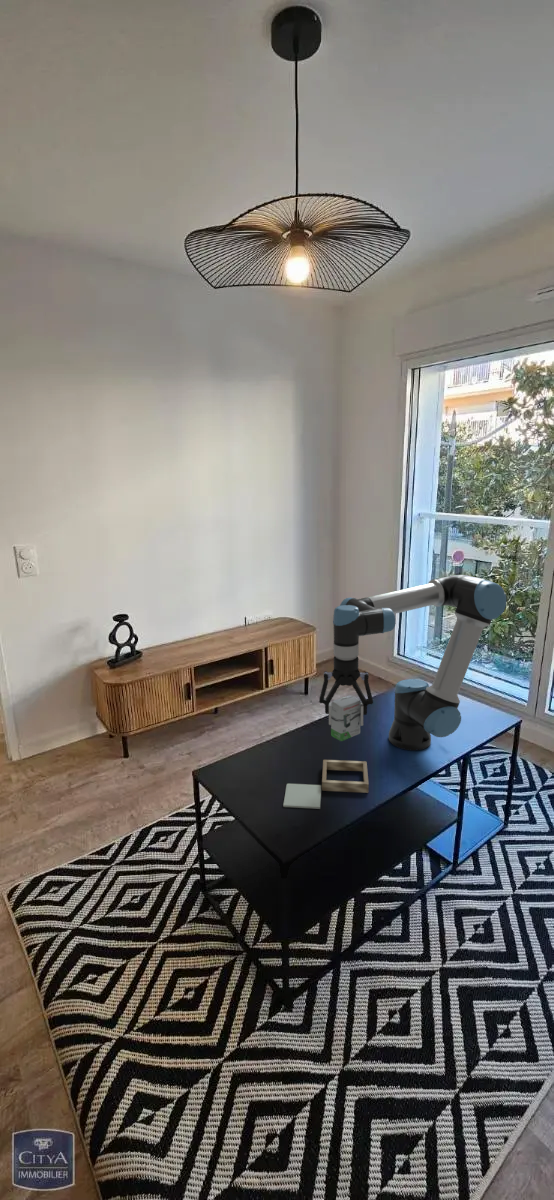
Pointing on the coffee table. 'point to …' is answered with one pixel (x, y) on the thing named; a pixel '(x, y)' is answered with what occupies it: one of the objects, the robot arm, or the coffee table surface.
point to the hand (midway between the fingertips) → (345, 723)
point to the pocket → (345, 785)
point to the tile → (302, 796)
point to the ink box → (345, 717)
